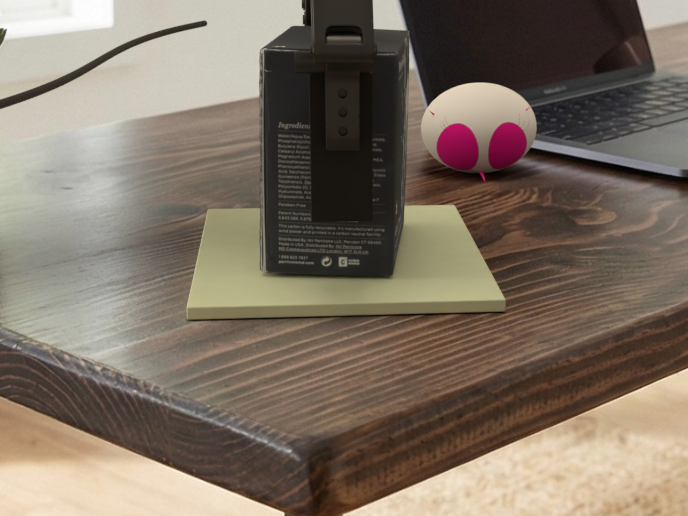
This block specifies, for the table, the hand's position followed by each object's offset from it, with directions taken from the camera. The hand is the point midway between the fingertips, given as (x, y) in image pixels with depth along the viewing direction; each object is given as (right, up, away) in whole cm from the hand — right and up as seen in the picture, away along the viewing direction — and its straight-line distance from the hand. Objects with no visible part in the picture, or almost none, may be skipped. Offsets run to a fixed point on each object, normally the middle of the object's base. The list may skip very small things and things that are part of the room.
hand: (335, 186), depth 64 cm
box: (0, -3, +1) cm, 3 cm away
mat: (0, -4, +1) cm, 4 cm away
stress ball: (+8, +3, +21) cm, 23 cm away
